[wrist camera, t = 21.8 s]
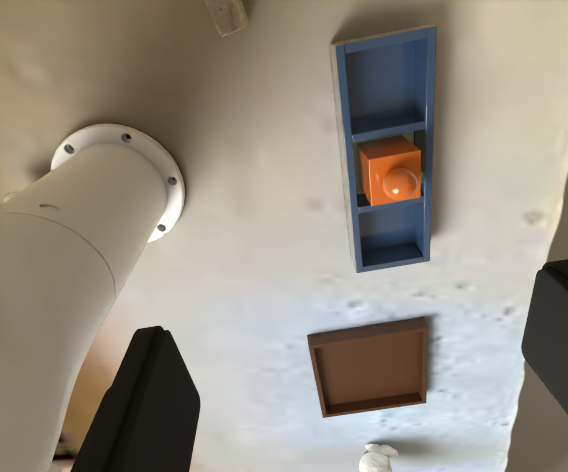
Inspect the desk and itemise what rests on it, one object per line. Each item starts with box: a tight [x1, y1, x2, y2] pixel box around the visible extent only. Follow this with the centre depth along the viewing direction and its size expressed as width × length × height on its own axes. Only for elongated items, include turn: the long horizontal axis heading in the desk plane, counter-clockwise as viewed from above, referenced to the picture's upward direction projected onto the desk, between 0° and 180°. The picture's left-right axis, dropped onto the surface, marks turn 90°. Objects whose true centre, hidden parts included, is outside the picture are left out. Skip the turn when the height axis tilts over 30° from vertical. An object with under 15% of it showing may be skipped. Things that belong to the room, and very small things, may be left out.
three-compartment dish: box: [329, 26, 436, 273], centre depth 35 cm, size 8×22×4 cm, turn 10°
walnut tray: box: [307, 317, 428, 418], centre depth 51 cm, size 15×15×2 cm
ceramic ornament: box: [356, 135, 421, 206], centre depth 33 cm, size 4×4×8 cm
